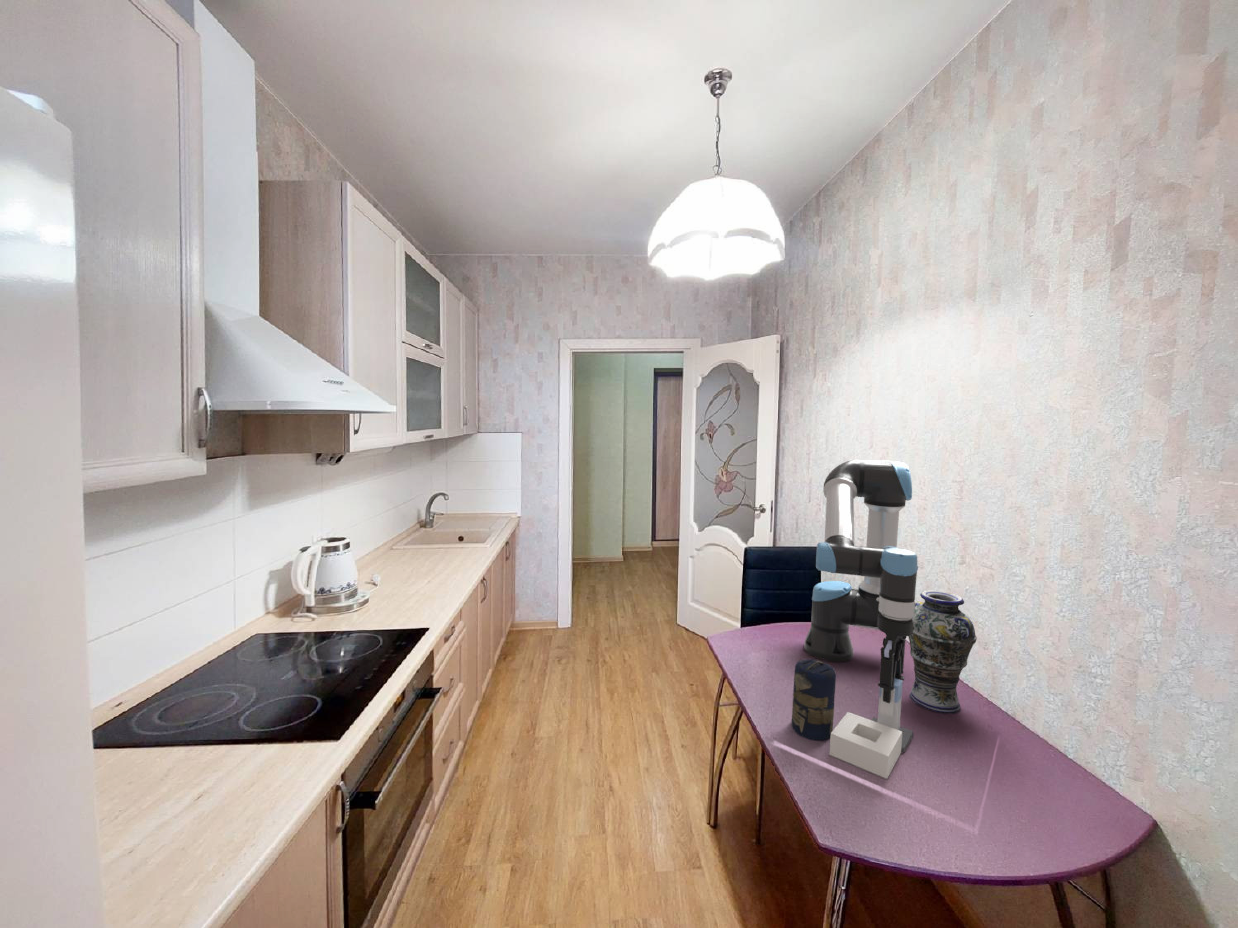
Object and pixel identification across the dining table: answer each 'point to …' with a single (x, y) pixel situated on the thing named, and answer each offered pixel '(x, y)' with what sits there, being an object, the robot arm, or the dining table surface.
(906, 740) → the gray recessed square plate
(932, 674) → the vase
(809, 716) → the canister
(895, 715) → the plug
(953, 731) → the dining table surface
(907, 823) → the dining table surface
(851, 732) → the block
